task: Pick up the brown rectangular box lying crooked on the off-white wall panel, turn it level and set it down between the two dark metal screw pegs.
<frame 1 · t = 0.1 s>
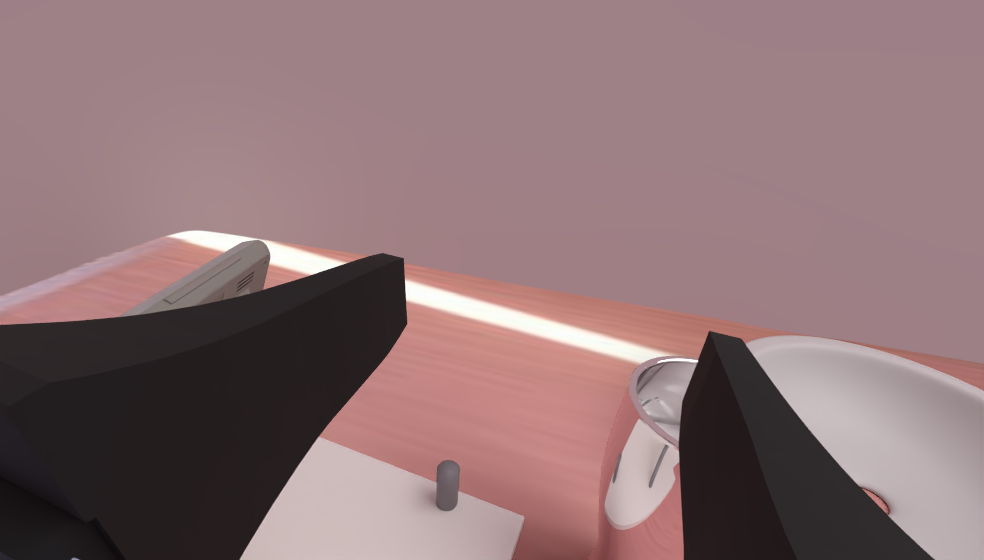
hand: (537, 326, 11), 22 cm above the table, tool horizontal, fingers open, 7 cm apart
soup bowl: (867, 504, 33), on the table
digital clock: (210, 382, 39), on the table
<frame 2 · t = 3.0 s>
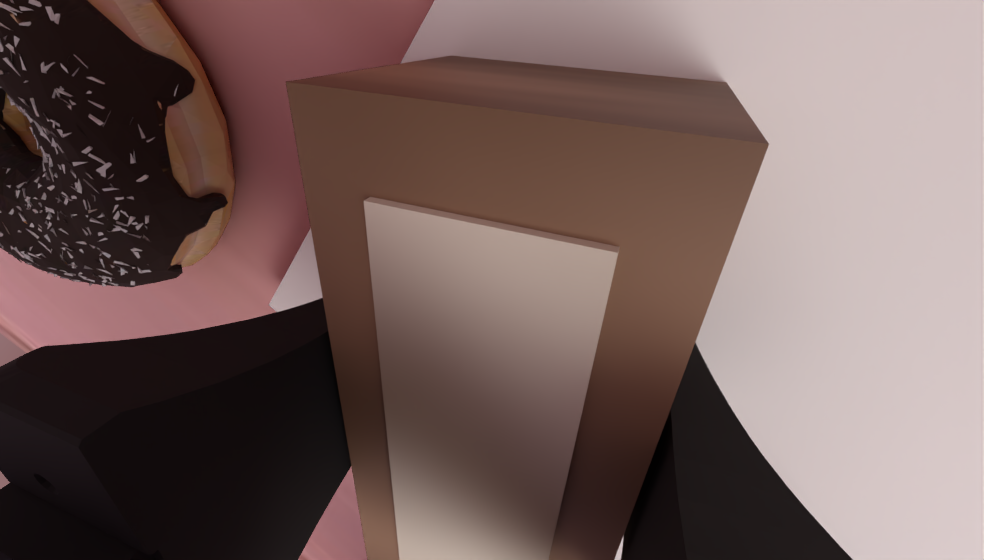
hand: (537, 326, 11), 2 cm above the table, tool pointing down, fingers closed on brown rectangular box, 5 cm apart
brown rectangular box: (542, 315, 11), point 1 cm above the table, touching gripper, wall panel
donut: (118, 102, 15), on the table
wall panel: (807, 316, 10), on the table
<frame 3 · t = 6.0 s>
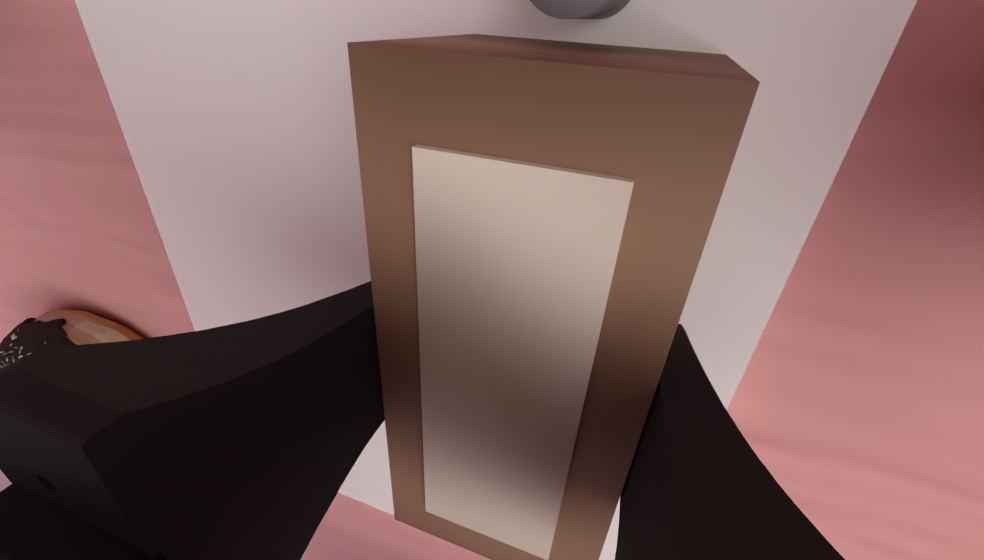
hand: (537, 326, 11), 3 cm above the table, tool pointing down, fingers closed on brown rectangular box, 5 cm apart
brown rectangular box: (555, 278, 12), point 1 cm above the table, touching gripper, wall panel
donut: (147, 378, 26), on the table
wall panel: (410, 316, 16), on the table
when the fingers open (3 cm above the table, at t = 6.4 s): brown rectangular box stays where it is, resting on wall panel.
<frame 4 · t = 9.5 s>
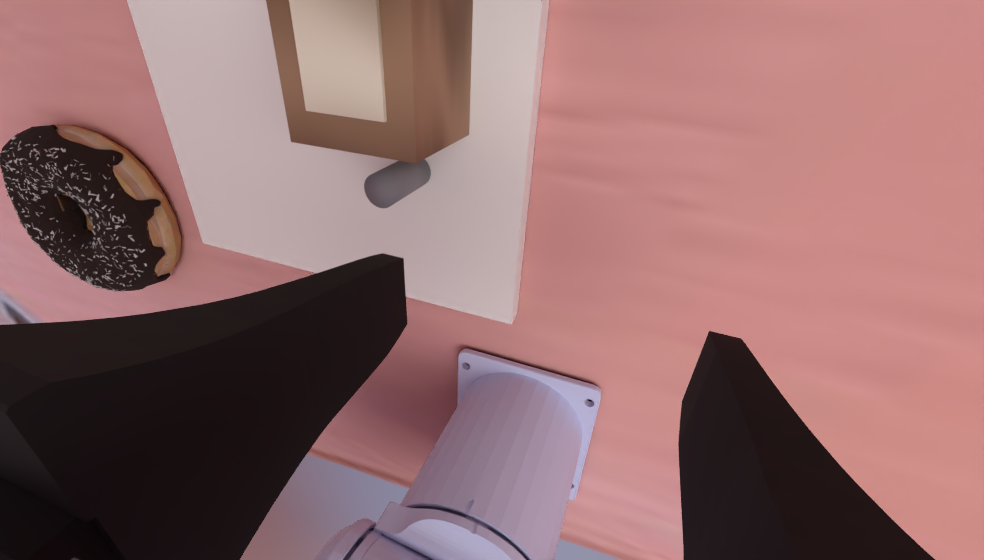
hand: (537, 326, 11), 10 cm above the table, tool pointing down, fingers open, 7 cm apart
donut: (128, 202, 31), on the table
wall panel: (324, 58, 20), on the table
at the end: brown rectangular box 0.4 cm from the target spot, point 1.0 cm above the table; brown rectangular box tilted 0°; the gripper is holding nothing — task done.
